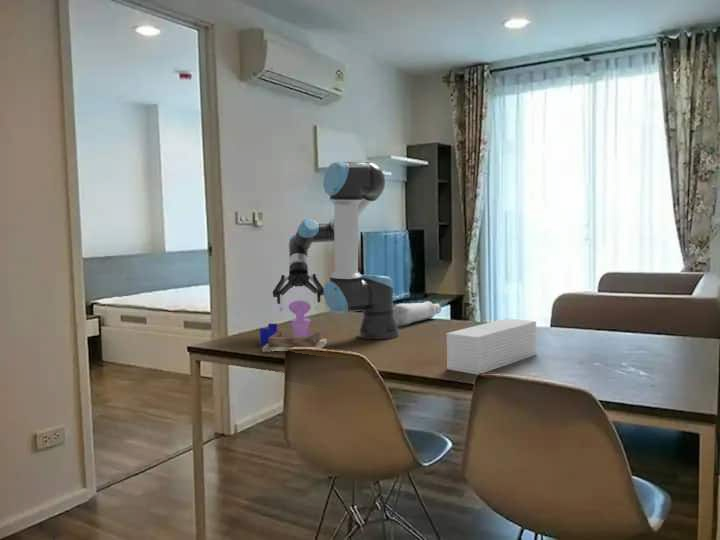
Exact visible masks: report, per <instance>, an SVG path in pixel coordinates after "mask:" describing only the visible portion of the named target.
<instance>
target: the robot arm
mask: <svg viewBox="0 0 720 540" xmlns="http://www.w3.org/2000/svg"><path fill="white" fill-rule="evenodd" d="M322 181H323V189H324V192H325V194H327V195H328V196H329V201H330V202H331V203H332V204H333V205H334V207H333V209H334V210H333V211H334V212H333V213H334V214H333V215H334V216H333V218H332V219H330V221H329V222H328V223H318V222H317V221H315V220H314V219H311V218H304V219H303V220H302V221H301V222H300V223H299V226H298V227H297V229H296V232H295V234H293V235H292V236H291V237H290V238H289V243H288V252H289V255H288V257H289V258H288V260H289V261H288V266H289V267H288V269H289V270H288V272H289V273H288V276H285V274H281V275H280V279H279V280H278V283H277V284H276V285H275V287H274V288H273V291H272V297H273V298H276V303H277V305H279V311H280V313H283V303H284V301H283V299H284V298H283V296H284V295H286V293H287V292H288V291H290V290H291V289H292V288H293V287H296V288H297V287H305V288H307V289H308V290H309V291H311V292H312V293H313V294H314V295H315V297H314V298H315V311H319V309H318V308H319V305H318V304H319V303H321V296H324V297H323V298H324V301H325V304H326V306H327V307H328V308H329V310H330V311H331V312H333V313H334V314H346V313H351V312H359V311H362V317H361V321H360V324H359V328H358V337H359V338H361V339H364V340H365V339H366V340H389V339H392V338H393V339H394V338H397V337H398V336H399V331H400V330H399V326H397V324H396V321H395V318H394V315H393V307H394V286H393V280H392V278H391V277H390V276H385V275H376V274H375V275H374V274H361V273H360V271H359V217H360V215H362V213H363V212H364V211H365V209H366V208H368V206H369V205H370V204H371V203H372V202H375V201H376V200H377V199H378V198H380V196H381V194H382V193H383V192H384V190H385V185H386V178H385V174H384V172H383V171H382V169H381V168H380V167H379V165H376V164H375V163H372V162H369V161H364V162H361V161H359V162H358V161H344V160H343V161H335V162H332V163H330V164H329V165H328V166H327V169H326V170H325V172H324V176H323V180H322ZM328 242H329V243H330V242H333V243H334V244H333V246H334V247H333V248H334V251H333V255H334V256H333V258H334V260H333V262H334V263H333V265H334V266H333V272H332V273H331V274H329V281H327V282H325V283H324V286H323V285H322V284H321V282H320V281H319V280H318V278H317V274H316V273H313V274H311V275H309V267H308V266H309V262H308V261H309V256H308V252H309V249H310V248H311V246H312V244H314V243H328ZM310 280H311V282H310ZM287 281H288V282H287ZM312 282H313V284H312ZM285 283H286V284H285Z"/></svg>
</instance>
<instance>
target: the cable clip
mask: <svg viewBox="0 0 720 540" xmlns="http://www.w3.org/2000/svg"><path fill="white" fill-rule="evenodd" d="M267 326H268V327H267V328H265V327H264V328H259V336H260V337H259V338H260V340H259V341H260V346H265V345H266V344H268V338H270V337H271V336H272V335H273V334H275V333H276V332H278V323H268V324H267Z"/></svg>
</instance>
